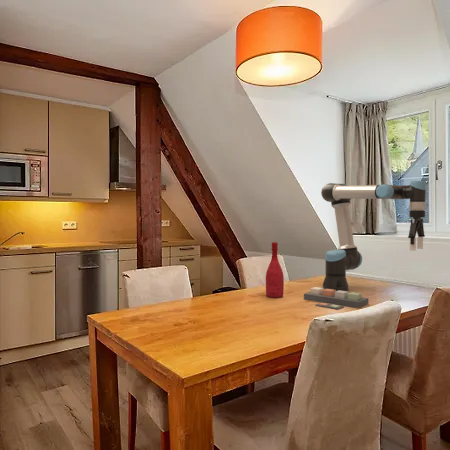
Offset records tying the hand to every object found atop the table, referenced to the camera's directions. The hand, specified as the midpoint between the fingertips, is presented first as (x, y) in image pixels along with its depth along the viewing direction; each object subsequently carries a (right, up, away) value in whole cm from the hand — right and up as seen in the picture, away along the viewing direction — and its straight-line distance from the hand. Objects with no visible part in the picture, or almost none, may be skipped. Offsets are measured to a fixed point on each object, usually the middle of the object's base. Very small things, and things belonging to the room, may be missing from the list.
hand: (416, 249), depth 211 cm
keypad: (-46, -26, -7) cm, 53 cm away
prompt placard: (-51, -27, -18) cm, 61 cm away
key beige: (-43, -24, -10) cm, 50 cm away
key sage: (-38, -24, -15) cm, 47 cm away
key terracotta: (-48, -24, -5) cm, 54 cm away
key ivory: (-53, -24, 0) cm, 58 cm away
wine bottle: (-75, -26, +6) cm, 80 cm away
